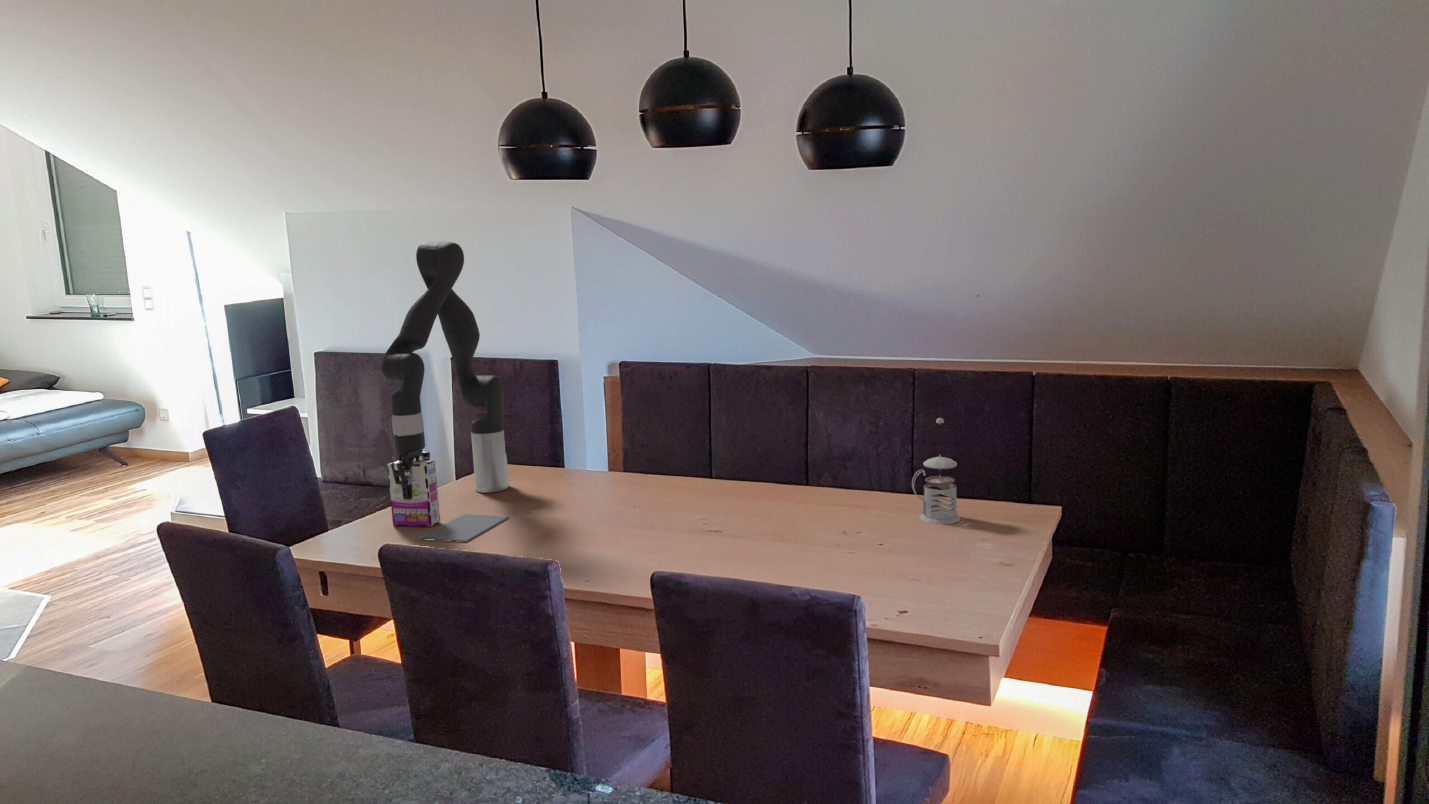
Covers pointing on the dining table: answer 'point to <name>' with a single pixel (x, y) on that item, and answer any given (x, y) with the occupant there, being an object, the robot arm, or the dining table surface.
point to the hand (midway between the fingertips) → (414, 495)
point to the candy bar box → (416, 497)
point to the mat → (465, 527)
